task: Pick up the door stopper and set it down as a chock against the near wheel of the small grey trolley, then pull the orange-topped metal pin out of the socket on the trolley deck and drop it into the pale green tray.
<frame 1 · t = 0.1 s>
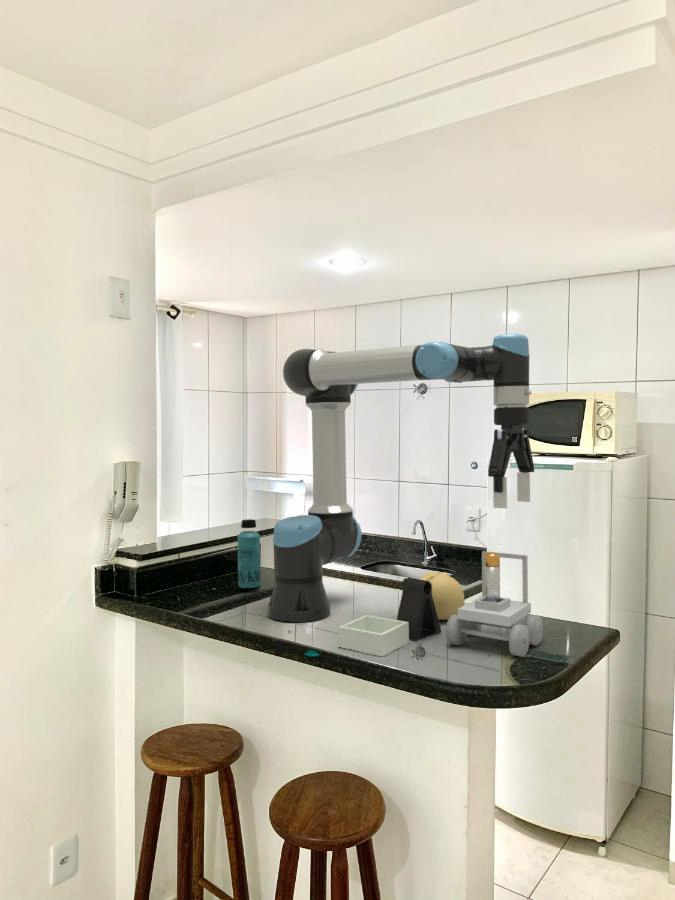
hand: (512, 504, 151), 28 cm above the worktop, tool pointing down, fingers open, 13 cm apart
beverage bottle: (249, 591, 195), on the worktop
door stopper: (417, 635, 152), on the worktop
trolley: (495, 644, 144), on the worktop
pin: (492, 607, 143), point 8 cm above the worktop, touching trolley
yellow rounded lump: (438, 618, 164), on the worktop
tray: (374, 645, 145), on the worktop
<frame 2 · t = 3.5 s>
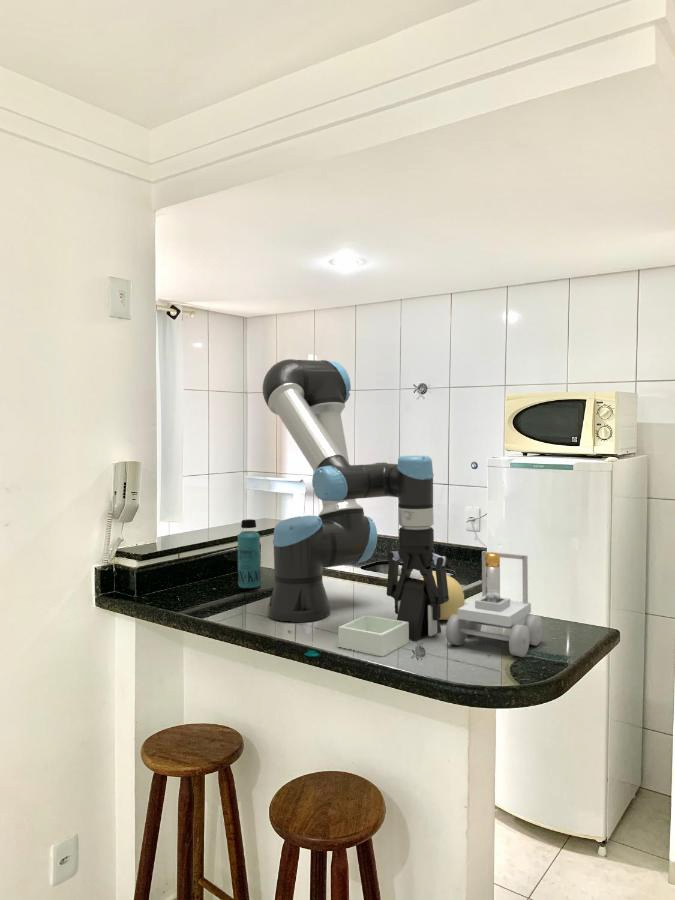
hand: (417, 631, 152), 1 cm above the worktop, tool pointing down, fingers closed on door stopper, 7 cm apart
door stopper: (417, 634, 152), on the worktop, touching gripper
everything else where it was.
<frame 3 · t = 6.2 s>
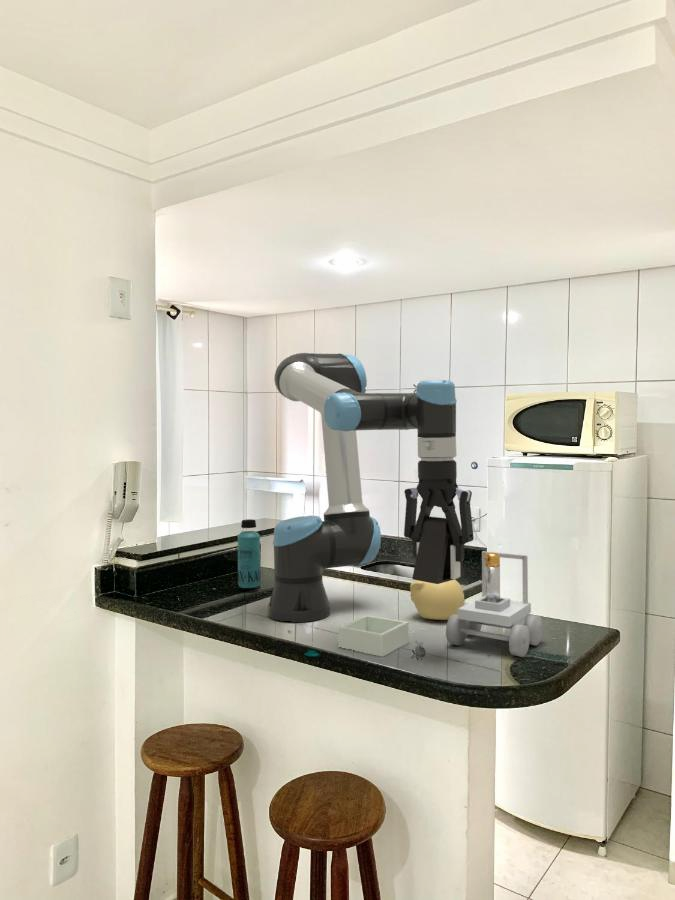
hand: (438, 575, 137), 16 cm above the worktop, tool pointing down, fingers closed on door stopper, 7 cm apart
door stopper: (438, 579, 137), point 15 cm above the worktop, touching gripper
everything else where it was.
when the fingers open (1 cm above the worktop, at t = 9.0 s): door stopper stays where it is, on the worktop.
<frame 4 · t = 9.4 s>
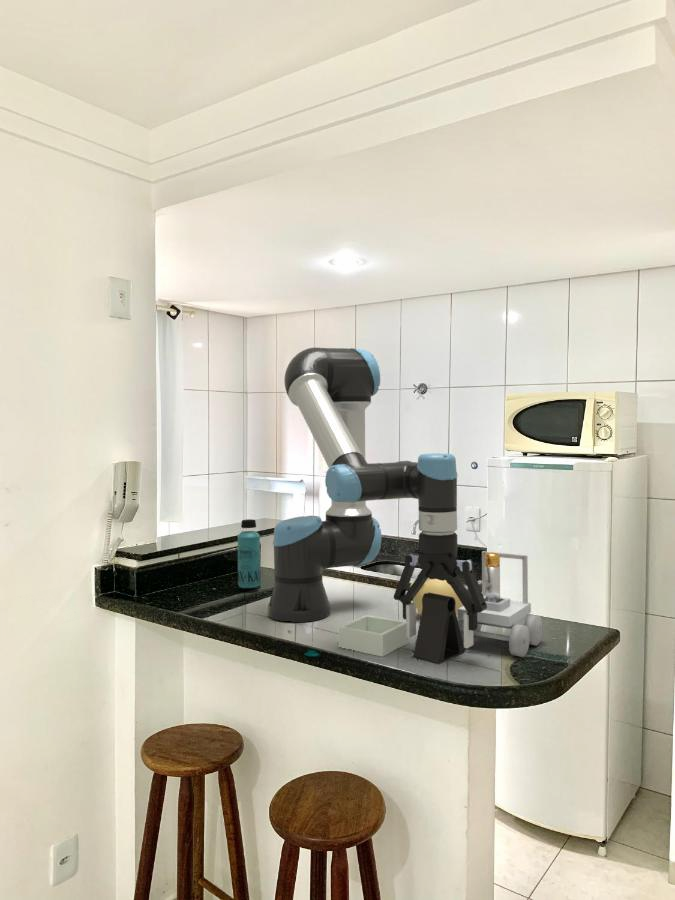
hand: (439, 640, 138), 3 cm above the worktop, tool pointing down, fingers open, 12 cm apart
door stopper: (439, 656, 138), on the worktop
everything else where it was.
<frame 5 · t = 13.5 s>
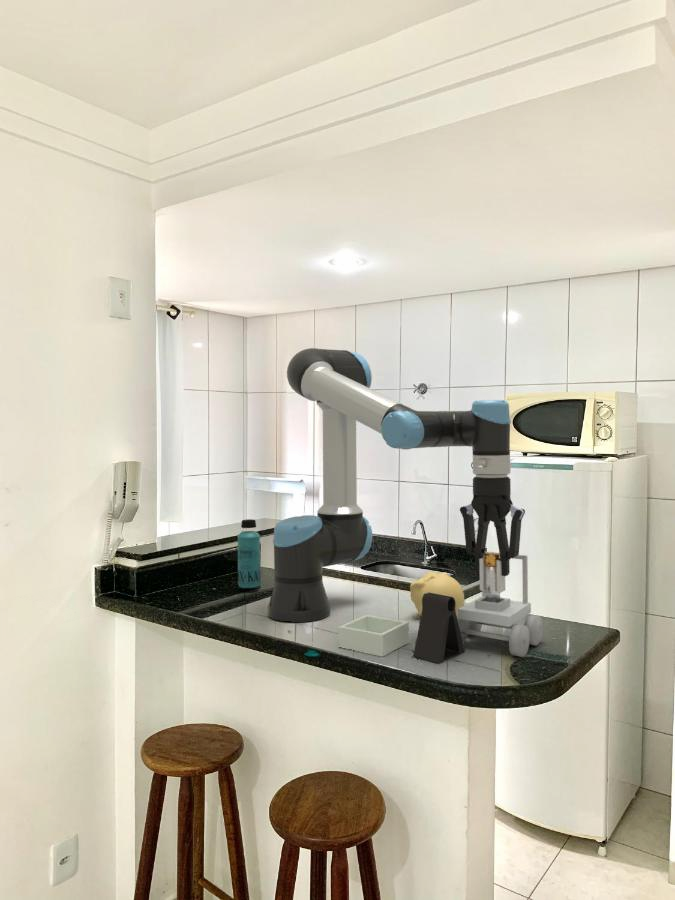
hand: (492, 589, 142), 12 cm above the worktop, tool pointing down, fingers closed on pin, 3 cm apart
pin: (492, 607, 143), point 8 cm above the worktop, touching gripper, trolley
everything else where it was.
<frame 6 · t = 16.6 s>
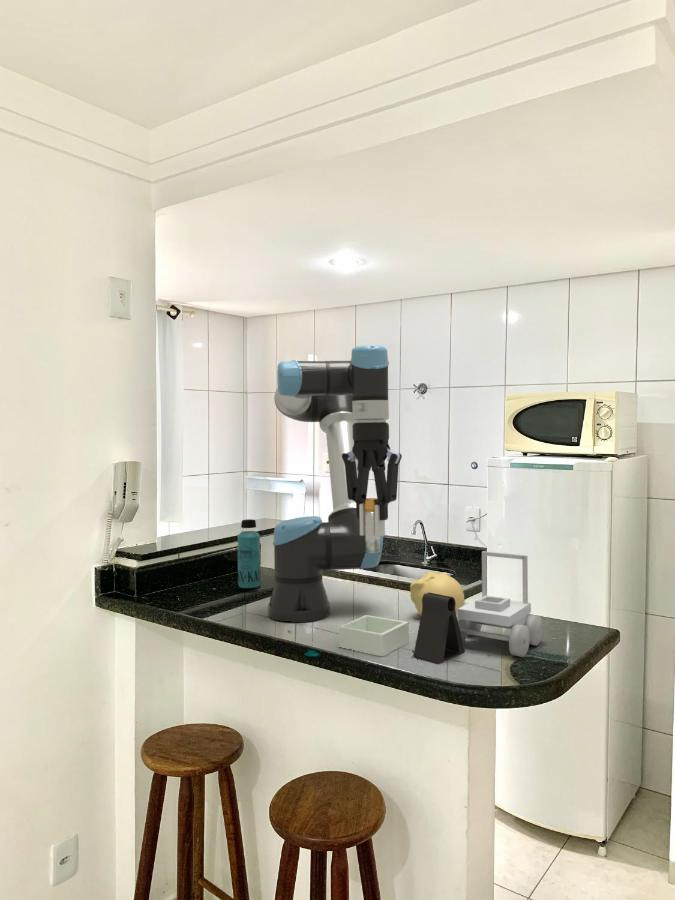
hand: (372, 534, 144), 23 cm above the worktop, tool pointing down, fingers closed on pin, 3 cm apart
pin: (372, 551, 144), point 20 cm above the worktop, touching gripper
everything else where it was.
when the fingers open (6 cm above the worktop, at t = 19.8 s): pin drops 1 cm, resting on tray.
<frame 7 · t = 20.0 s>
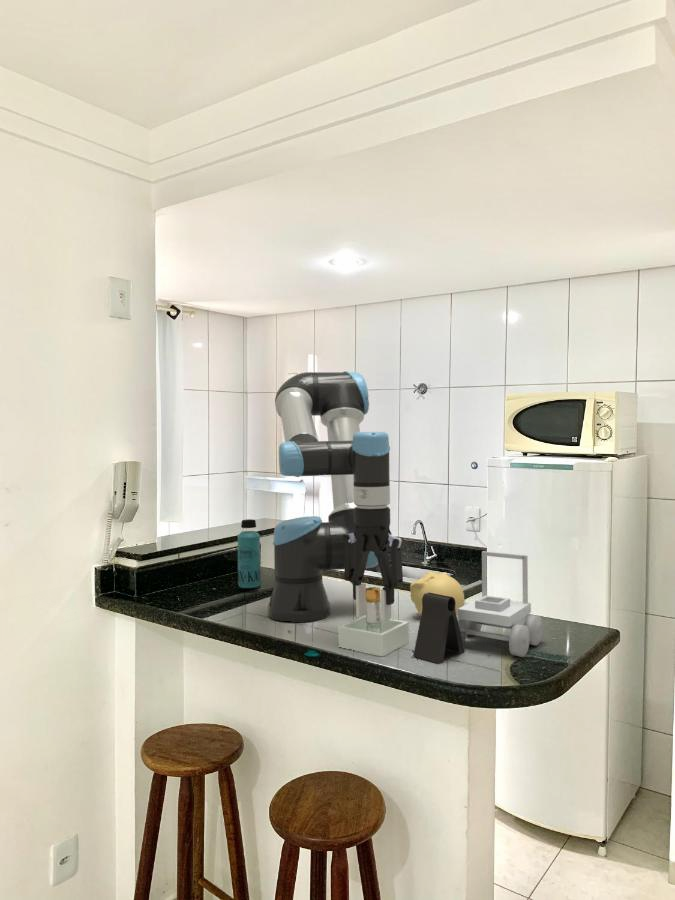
hand: (373, 617, 144), 6 cm above the worktop, tool pointing down, fingers open, 5 cm apart
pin: (373, 641, 145), point 1 cm above the worktop, touching tray
everything else where it was.
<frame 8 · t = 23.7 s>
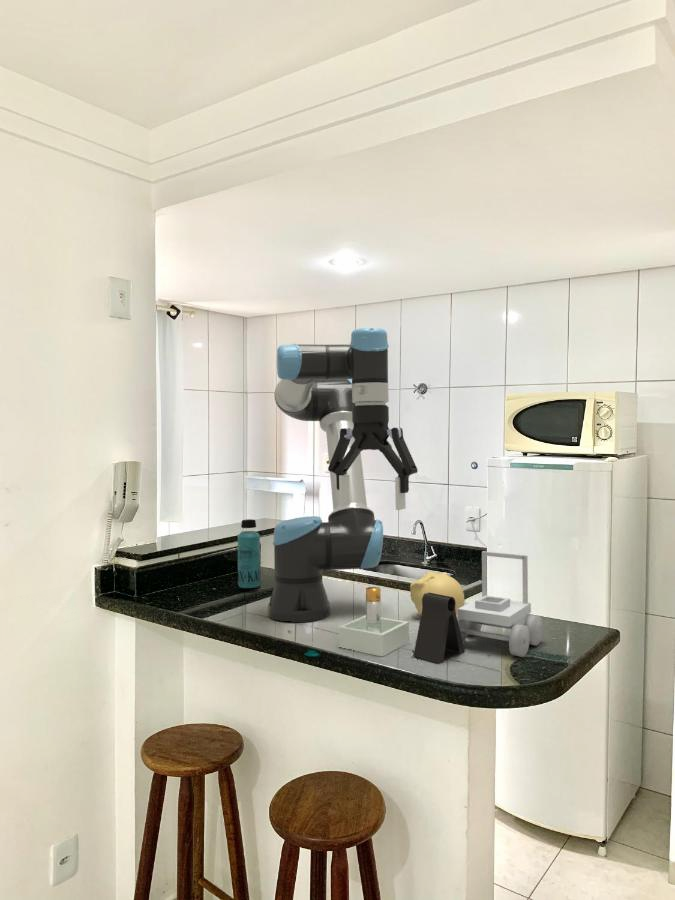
hand: (371, 507, 144), 29 cm above the worktop, tool pointing down, fingers open, 13 cm apart
nothing on the worktop moved.
at the end: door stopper inside the target area (0.1 cm from its centre), on the worktop; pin inside the target area on the tray (0.1 cm from its centre), point 0.8 cm above the tray's base; the gripper is holding nothing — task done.
